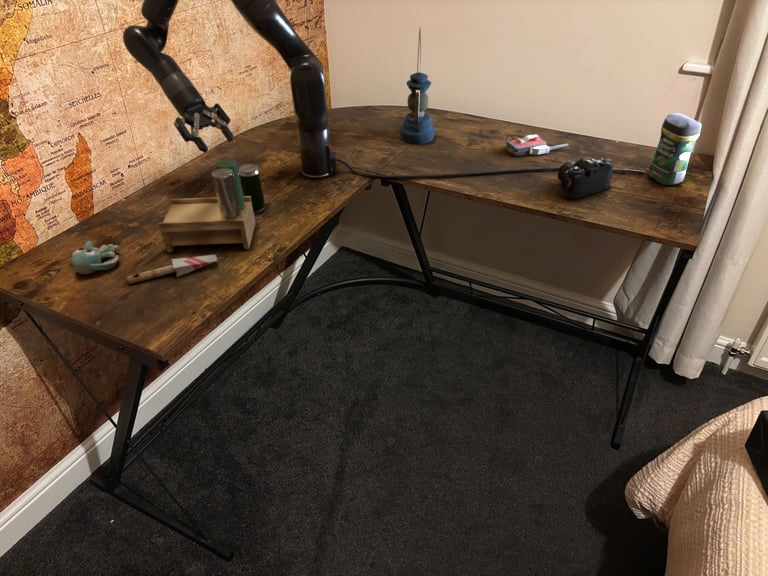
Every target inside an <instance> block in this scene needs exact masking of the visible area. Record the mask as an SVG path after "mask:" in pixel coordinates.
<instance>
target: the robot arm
mask: <svg viewBox="0 0 768 576" xmlns="http://www.w3.org/2000/svg"><path fill="white" fill-rule="evenodd" d="M179 1H180V0H143V2H142V5H141V8H140V13H141V15H142V17H143V18H144V19H145V20H146V21H147V22H146V25H137V24H136V25H135V24H133V25H129V26H127V27H126V28H125V29H124V30H123V32H122V41H123V45H124V47H125V49H126V50H127V52H128V53H129V54H130V55H131V57H132V58H133V59H135V61H136V62H137V63H139V64H140V65H141V66H142V67H143V68H144V69H146V70H147V71H148V72H149V73H150V74H151V76H152V77H153V79H154V80H155V81H156V82H157V84H158V85H159V87H160V88H161V90H162V91H163V94H164V95H165V96H166V98H167V99H168V101H169V102H170V103H171V105H172V106H173V108H174V110H176V113H178V114H179V116H180V117H179V116H177V117H176V118H175V120H174V122H173V125H174V128H176V130H177V131H178V133H179V134H180V137H182V140H183V141H184V142H186V143H189V142H193V143H194V144H195V145H196V147H197V149H198V150H199V151H200V152H202V153H203V154H205V153H207V152H208V151H209V147H208V146H207V144H206V142H205V141H204V140H203V139H202V137H201V136H199V132H200V131H201V130H203V129H204V128H209V127H211V128H216V129H218V130H220V131H221V134H222V135H223V137H224V138H225V139H226V140H227V142H228V143H231V142H233V140H234V133H233V132H232V131H231V129H230V128H229V127H228V126H229V124H230V123H231V121H232V120H231V118H230V117H229V116H228V114H227V113H226V112H225V111H224V109H223V108H222V106H221V105H220V104H219V103H218V102H217V103H214V105H213V106H211V107H209V105H207V104H206V101H205V99H204V97H203V96H202V95H201V93H200V92H199V91H198V89H197V88H196V87H195V85H194V84H193V82H192V81H191V80H190V78H189V77H188V76H187V75H186V74H185V73H184V71H183V70H182V68H181V67H180V65H178V63H177V61H176V60H175V59H174V58H173V57H172V56H171V55H169V54H167V53H164V52H163V51H164V50H165V48H166V45H167V42H168V37H169V29H170V21H171V19H172V17H173V15H174V13H175V10H176V9H177V6H178V4H179ZM230 1H231V3H232V5H233V6H234V8H235V9H236V10H237V12H238V13H239V15H241V17H242V18H243V20H244V21H245V22H246V24H247V25H248V27H250V28H251V30H253V31H254V33H256V35H258V36H259V37H260V38H261V39H262V40H264V41H265V42H266V43H267V44H269V45H270V46H271V47H272V48H273V49H274V50H275V51H276V52H277V53H278V54H279V56H280V57H281V59H282V60H283V61H284V63H285V65H286V66H287V68H288V70H289V71H290V74H289V75H290V76H289V82H290V90H291V98H292V106H293V110H294V114H295V122H296V123H295V124H296V132H297V140H298V148H299V160H300V164H301V165H300V167H301V174H302V176H304V177H306V178H309V179H323V178H326V177H330V176H333V171H334V169H333V168H337V162H338V163H340V164H343V165H344V166H346V167H347V168H348V170H349V171H350V172H352V173H354V174H355V175H358V176H362V177H367V178H375V179H429V178H431V179H432V178H433V179H434V178H448V177H449V178H452V177H465V176H477V175H478V176H479V175H490V174H492V175H493V174H503V173H504V174H505V173H515V172H517V173H518V172H533V171H559V169H560V167H561V166H545V167H543V166H541V167H540V166H539V167H523V168H509V169H508V168H507V169H495V170H482V171H470V172H469V171H468V172H456V173H439V174H438V173H437V174H415V175H414V174H405V175H403V174H397V175H396V174H391V175H390V174H389V175H388V174H383V175H382V174H374V173H365V172H364V173H363V172H360V171H358V170H356V169H354V168H353V167H352V165H350V163H348V162H347V161H345V160H343V159H341V158H338V157H337V151H332V141H331V135H330V124H329V122H330V121H329V111H328V104H327V93H326V81H325V80H326V69H325V66H324V64H323V63H322V61H321V60H320V59H319V57H318V56H317V55H316V54H315V53H314V52H313V50H311V49H310V47H309V46H308V45H307V44H306V43H305V42H304V40H303V39H302V38H301V37H300V36H299V34H298V33H297V32H296V30H295V28H294V27H293V25H292V24H291V22H290V20H289V19H288V17H287V16H286V14H285V13H284V11H283V10H282V8H281V7H280V5H279V4H278V2H277V1H276V0H230ZM187 125H188V126H190V131H189V129H188V128H187ZM612 172H617V173H631V174H642V175H644V174H646V173H645V172H646V171H645V170H640V169H629V168H628V169H627V168H614V167H613V171H612Z"/></svg>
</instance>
